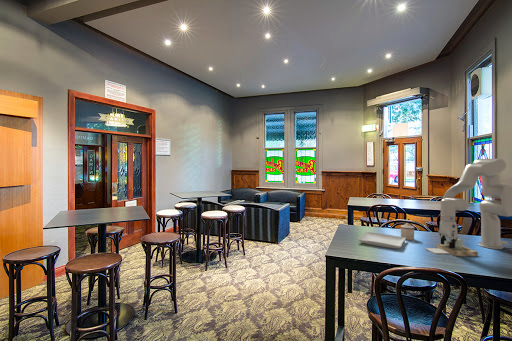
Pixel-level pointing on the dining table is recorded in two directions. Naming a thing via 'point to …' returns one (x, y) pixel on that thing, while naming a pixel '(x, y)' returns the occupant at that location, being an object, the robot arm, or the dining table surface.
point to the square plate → (382, 240)
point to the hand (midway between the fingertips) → (447, 246)
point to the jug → (456, 244)
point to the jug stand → (463, 252)
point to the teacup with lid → (407, 231)
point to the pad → (436, 250)
